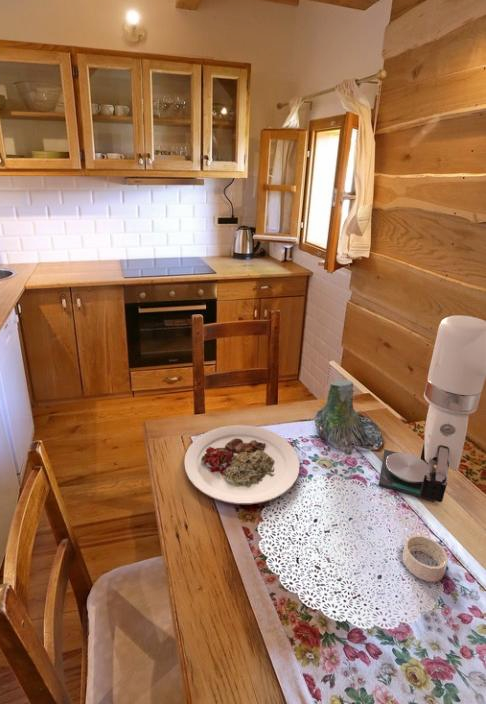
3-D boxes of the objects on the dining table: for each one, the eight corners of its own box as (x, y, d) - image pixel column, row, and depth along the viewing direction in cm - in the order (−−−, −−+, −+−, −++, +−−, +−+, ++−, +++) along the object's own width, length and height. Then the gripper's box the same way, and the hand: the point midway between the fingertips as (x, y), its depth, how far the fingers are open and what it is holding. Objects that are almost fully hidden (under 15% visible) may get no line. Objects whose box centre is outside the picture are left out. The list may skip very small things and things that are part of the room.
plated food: (320, 493, 98) (322, 482, 96) (199, 522, 90) (199, 510, 89) (271, 423, 125) (271, 413, 123) (175, 440, 117) (174, 430, 116)
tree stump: (346, 465, 108) (339, 401, 105) (302, 438, 126) (295, 383, 123) (397, 443, 114) (392, 383, 112) (349, 421, 133) (343, 368, 130)
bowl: (442, 559, 81) (446, 543, 80) (443, 591, 75) (448, 574, 73) (402, 545, 84) (406, 529, 83) (400, 575, 78) (404, 559, 76)
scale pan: (430, 464, 104) (431, 459, 103) (430, 492, 95) (431, 487, 94) (387, 453, 108) (387, 448, 107) (383, 478, 99) (384, 473, 99)
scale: (432, 468, 106) (433, 461, 105) (432, 506, 94) (434, 498, 93) (383, 455, 111) (384, 448, 110) (377, 489, 99) (379, 482, 98)
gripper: (486, 429, 55) (458, 523, 62) (473, 374, 70) (451, 455, 76) (425, 415, 58) (405, 506, 65) (425, 365, 73) (408, 443, 79)
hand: (430, 478), depth 70 cm, fingers open, 9 cm apart
